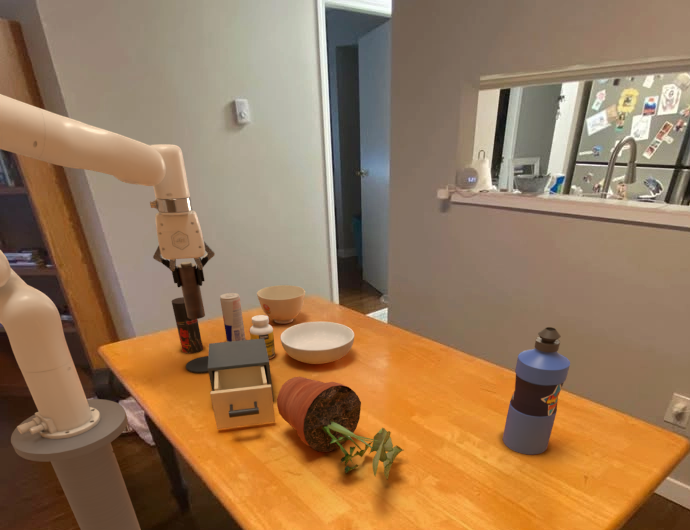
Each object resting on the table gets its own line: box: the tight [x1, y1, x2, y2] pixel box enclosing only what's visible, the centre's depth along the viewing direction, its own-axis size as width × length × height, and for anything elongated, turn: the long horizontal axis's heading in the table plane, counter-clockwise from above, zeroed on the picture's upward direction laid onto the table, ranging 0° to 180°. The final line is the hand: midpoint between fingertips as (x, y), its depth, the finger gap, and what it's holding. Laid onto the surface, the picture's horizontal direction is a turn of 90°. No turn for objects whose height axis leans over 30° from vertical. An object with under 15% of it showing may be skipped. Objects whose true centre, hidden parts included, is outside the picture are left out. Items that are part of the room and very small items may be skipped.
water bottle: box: [502, 326, 571, 456], centre depth 90 cm, size 9×9×25 cm
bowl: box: [256, 284, 306, 325], centre depth 156 cm, size 16×16×10 cm
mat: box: [185, 355, 209, 374], centre depth 128 cm, size 10×10×1 cm
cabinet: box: [207, 338, 274, 403], centre depth 113 cm, size 15×14×11 cm
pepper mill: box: [176, 261, 206, 320], centre depth 117 cm, size 4×4×14 cm
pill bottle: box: [249, 314, 276, 360], centre depth 130 cm, size 6×6×12 cm
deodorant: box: [171, 296, 204, 355], centre depth 134 cm, size 6×6×15 cm
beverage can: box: [219, 292, 247, 342], centre depth 138 cm, size 6×6×15 cm
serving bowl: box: [280, 320, 355, 365], centre depth 132 cm, size 21×21×7 cm
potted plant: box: [276, 376, 404, 481], centre depth 88 cm, size 16×15×35 cm
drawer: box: [210, 365, 276, 430], centre depth 102 cm, size 18×12×9 cm
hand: (190, 284), depth 116 cm, fingers closed on pepper mill, 4 cm apart
